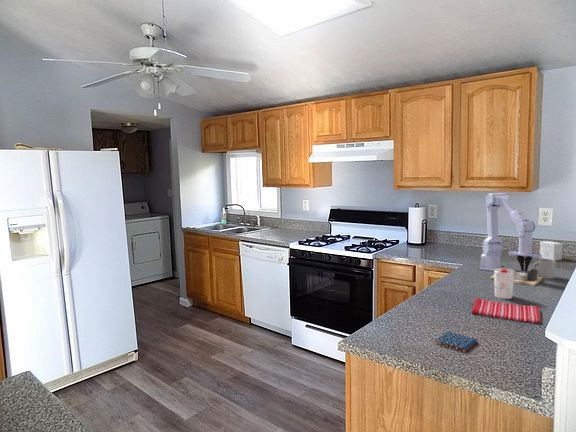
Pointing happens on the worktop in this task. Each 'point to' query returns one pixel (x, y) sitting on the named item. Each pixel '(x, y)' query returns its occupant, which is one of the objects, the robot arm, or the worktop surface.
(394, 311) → the worktop surface
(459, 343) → the woven mat
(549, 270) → the cup
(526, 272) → the retention strap
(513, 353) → the worktop surface
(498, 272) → the canister
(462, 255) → the worktop surface
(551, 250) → the skincare box
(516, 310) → the dish towel
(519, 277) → the board
